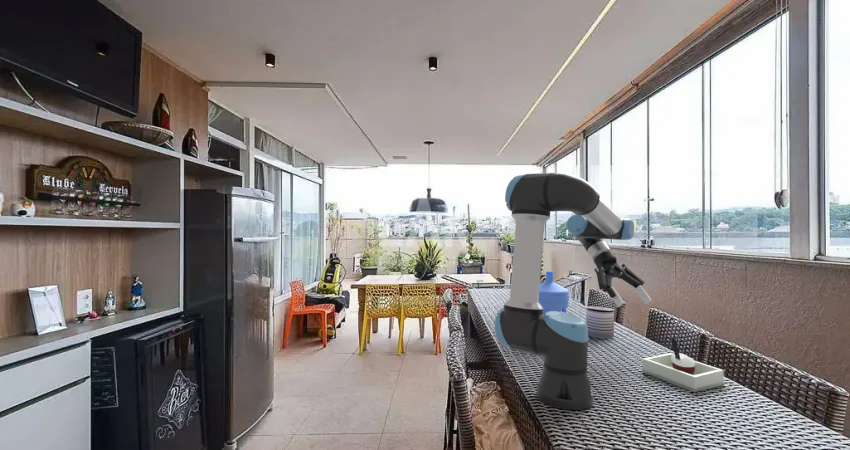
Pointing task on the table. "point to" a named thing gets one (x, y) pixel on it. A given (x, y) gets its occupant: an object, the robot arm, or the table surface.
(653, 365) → the bin
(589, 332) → the can
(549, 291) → the water jug
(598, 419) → the table surface
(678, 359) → the cocoa
